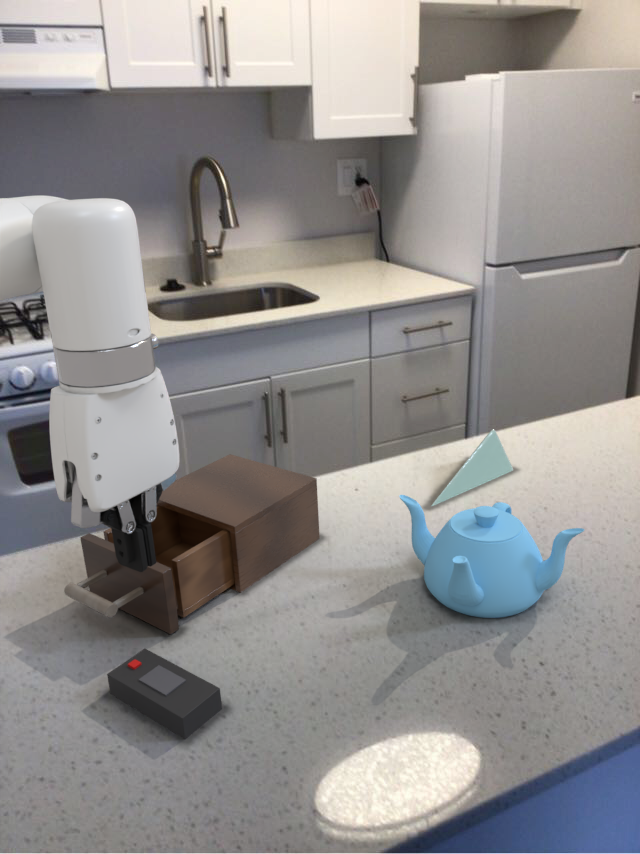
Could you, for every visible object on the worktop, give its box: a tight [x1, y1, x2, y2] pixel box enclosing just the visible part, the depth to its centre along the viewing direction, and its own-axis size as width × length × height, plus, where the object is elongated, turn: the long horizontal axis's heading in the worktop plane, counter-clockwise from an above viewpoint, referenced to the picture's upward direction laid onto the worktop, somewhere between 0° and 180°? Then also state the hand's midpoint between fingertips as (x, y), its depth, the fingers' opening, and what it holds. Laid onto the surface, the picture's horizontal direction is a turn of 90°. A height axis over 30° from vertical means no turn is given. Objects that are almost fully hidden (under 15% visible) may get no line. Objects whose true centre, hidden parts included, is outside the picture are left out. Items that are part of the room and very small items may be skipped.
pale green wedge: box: [430, 428, 514, 507], centre depth 107 cm, size 8×6×18 cm
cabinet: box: [157, 453, 321, 594], centre depth 93 cm, size 15×15×9 cm
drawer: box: [63, 505, 235, 635], centre depth 83 cm, size 18×13×7 cm
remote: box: [106, 648, 223, 740], centre depth 68 cm, size 4×10×3 cm, turn 53°
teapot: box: [398, 494, 585, 619], centre depth 82 cm, size 15×15×10 cm
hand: (137, 563), depth 66 cm, fingers closed
